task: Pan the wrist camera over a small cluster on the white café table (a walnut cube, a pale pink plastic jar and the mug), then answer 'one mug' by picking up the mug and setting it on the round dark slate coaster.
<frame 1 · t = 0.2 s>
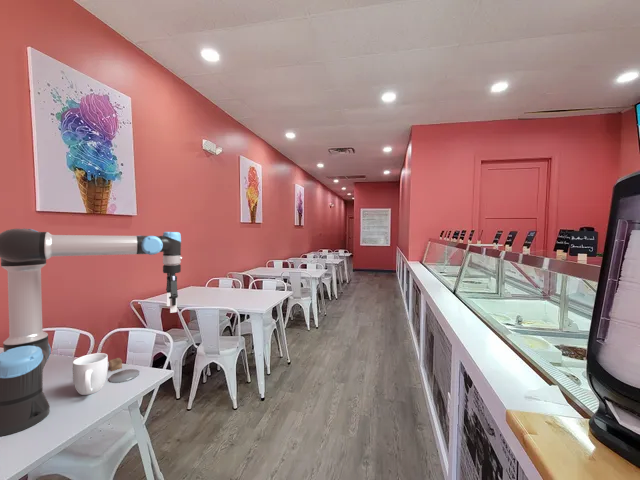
hand: (171, 309, 134), 28 cm above the table, fingers open, 13 cm apart
coaster: (124, 376, 125), on the table
walnut cube: (115, 368, 133), on the table
pink jar: (96, 375, 126), on the table
mug: (90, 392, 113), on the table
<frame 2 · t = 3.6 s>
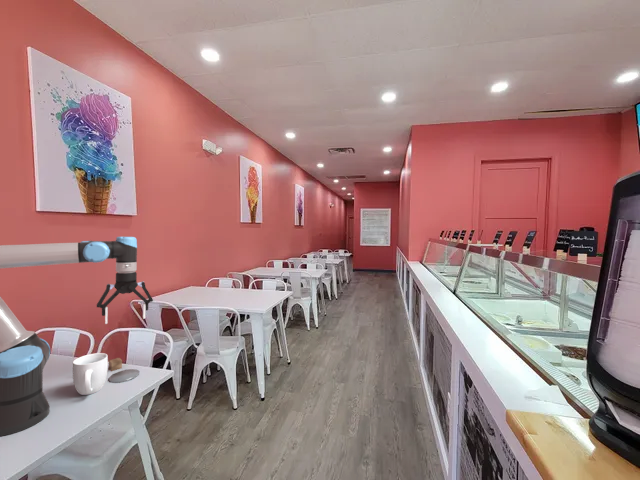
hand: (125, 320, 124), 25 cm above the table, fingers open, 13 cm apart
nothing on the table moved.
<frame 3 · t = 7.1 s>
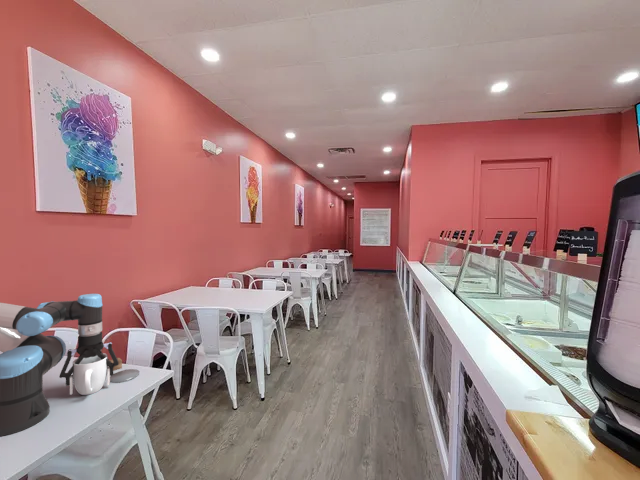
hand: (90, 388, 113), 2 cm above the table, fingers closed on mug, 11 cm apart
mug: (90, 392, 113), on the table, touching gripper
everything else where it was.
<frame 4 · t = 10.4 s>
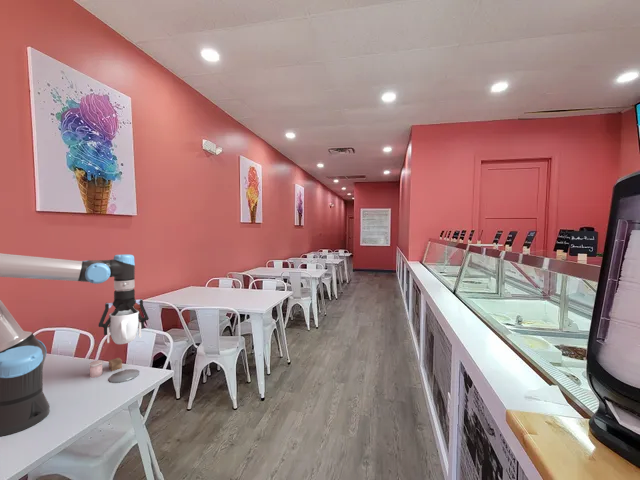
hand: (124, 339, 125), 17 cm above the table, fingers closed on mug, 11 cm apart
mug: (124, 342, 125), point 15 cm above the table, touching gripper
everything else where it was.
when the fingers open (4 cm above the table, at t = 13.6 s): mug drops 2 cm, resting on coaster.
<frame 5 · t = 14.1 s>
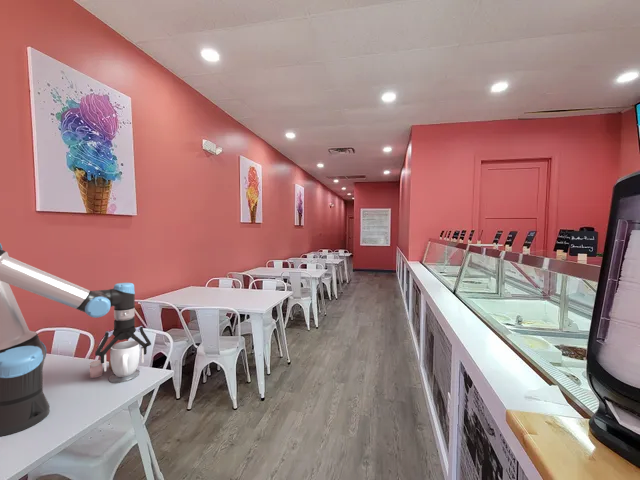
hand: (124, 365, 125), 5 cm above the table, fingers open, 13 cm apart
mug: (125, 375, 126), resting on coaster
everything else where it was.
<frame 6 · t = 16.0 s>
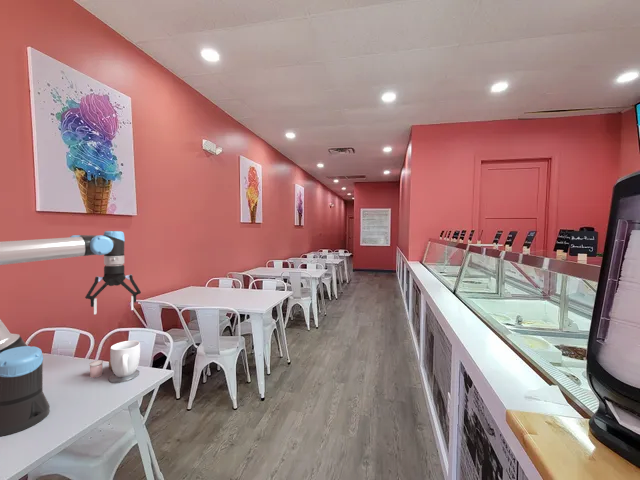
hand: (114, 311, 129), 28 cm above the table, fingers open, 13 cm apart
nothing on the table moved.
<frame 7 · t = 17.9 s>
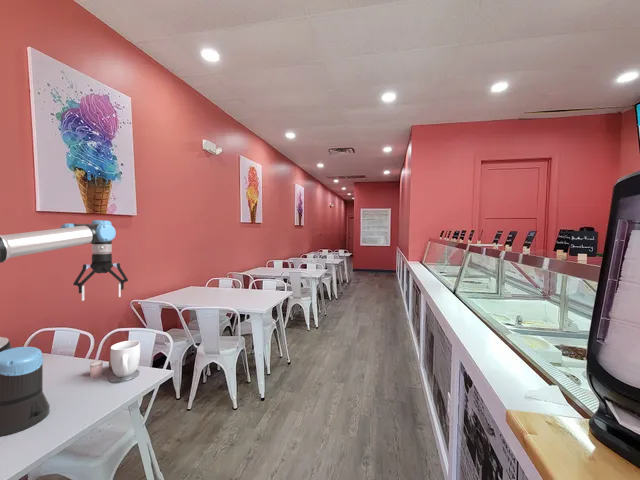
hand: (102, 298, 133), 33 cm above the table, fingers open, 13 cm apart
nothing on the table moved.
at the end: mug inside the target area on the coaster (0.4 cm from its centre), point 0.4 cm above the coaster's base; mug tilted 0°; the gripper is holding nothing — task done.
